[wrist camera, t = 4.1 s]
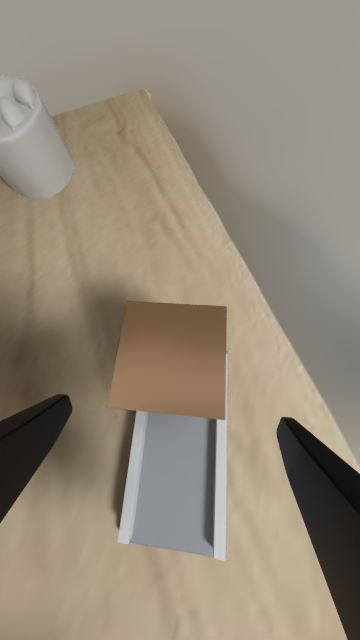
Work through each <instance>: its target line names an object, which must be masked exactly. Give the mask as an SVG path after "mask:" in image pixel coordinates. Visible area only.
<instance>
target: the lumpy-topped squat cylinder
mask: <svg viewBox="0 0 360 640" xmlns="http://www.w3.org/2000/svg"><path fill="white" fill-rule="evenodd" d="M74 166H75V164H74V161H73V158H72V156H71V154H70V152H69V150H68V148H67V146H66V144H65V142H64V141H63V139H62V137H61V135H60V133H59V131H58V129H57V127H56V125H55V123H54V122H53V120H52V118H51V116H50V114H49V112H48V110H47V109H46V107H45V105H44V103H43V101H42V99H41V97H40V95H39V94H38V92H37V91H36V89H35V88H34V87H33V85H32V84H31V83H30V82H28V81H27V80H23V79H12V78H10V77H8V76H6V75H0V176H1V177H2V178H3V179H4V180H5V181H6V183H7V184H8V185H9V186H10V187H11V188H12V189H13V190H14V191H15V192H17V193H18V194H20V195H22V196H25V197H27V198H33V199H44V198H49V197H51V196H54V195H56V194H57V193H59V192H60V191H61V190H62V189H63V188H64V187H65V186H66V185H67V184H68V182H69V181H70V179H71V176H72V174H73V171H74Z"/></svg>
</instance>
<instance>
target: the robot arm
mask: <svg viewBox="0 0 360 640" xmlns="http://www.w3.org/2000/svg"><path fill="white" fill-rule="evenodd" d="M71 413H72V405H71V402H70V399H69V396H68V395H65V394H57V395H55V396H53V397H51V398H49V399H47V400H44V401H42V402H40V403H38V404H36V405H34V406H32V407H30V408H28V409H25V410H23V411H21V412H19V413H17V414H15V415H13V416H11V417H9V418H6V419H4V420H2V421H0V523H1V521H2V520H3V518H4V517H5V516H6V514H7V513H8V511H9V510H10V508H11V507H12V505H13V504H14V502H15V501H16V499H17V498H18V497H19V495H20V494H21V492H22V491H23V489H24V488H25V486H26V485H27V483H28V482H29V480H30V479H31V478H32V476H33V475H34V473H35V472H36V470H37V469H38V467H39V466H40V464H41V463H42V461H43V460H44V459H45V457H46V456H47V454H48V453H49V451H50V450H51V448H52V447H53V445H54V443H55V442H56V440H57V438H58V436H59V435H60V433H61V431H62V429H63V427H64V426H65V424H66V422H67V420H68V419H69V417H70V415H71ZM277 439H278V443H279V446H280V450H281V454H282V458H283V462H284V466H285V469H286V473H287V476H288V479H289V482H290V485H291V488H292V490H293V493H294V496H295V499H296V501H297V504H298V507H299V509H300V512H301V515H302V517H303V520H304V523H305V526H306V528H307V531H308V534H309V536H310V539H311V542H312V544H313V547H314V550H315V553H316V555H317V558H318V561H319V563H320V566H321V569H322V571H323V574H324V577H325V580H326V582H327V585H328V588H329V590H330V593H331V596H332V598H333V601H334V604H335V607H336V609H337V612H338V615H339V617H340V620H341V623H342V625H343V628H344V631H345V634H346V636H347V639H348V640H360V474H359V473H358V472H357V471H356V470H354V469H353V468H352V467H351V466H350V465H348V464H347V463H346V462H345V461H344V460H343V459H341V458H340V457H339V456H338V455H337V454H335V453H334V452H333V451H332V450H331V449H329V448H328V447H327V446H326V445H325V444H323V443H322V442H321V441H320V440H319V439H317V438H316V437H315V436H314V435H313V434H311V433H310V432H309V431H308V430H307V429H306V428H304V427H303V426H302V425H301V424H300V423H298V422H297V421H296V420H295V419H293V418H290V417H282V418H281V420H280V422H279V425H278V428H277Z"/></svg>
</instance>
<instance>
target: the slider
mask: <svg viewBox="0 0 360 640" xmlns="http://www.w3.org/2000/svg"><path fill="white" fill-rule="evenodd" d="M227 429H228V351H226V401H225V420H220V419H210V418H201V417H191V416H182V415H172V414H163V413H153V412H144V411H136V418H135V425H134V432H133V439H132V446H131V453H130V460H129V467H128V474H127V481H126V487H125V494H124V501H123V508H122V515H121V522H120V529H119V536H118V543H124V544H129V543H135V544H140V545H146V546H152V547H158V548H164V549H170V550H176V551H182V552H187V553H193V554H199V555H205V556H211V557H214V559H217V560H223V561H226V553H227Z"/></svg>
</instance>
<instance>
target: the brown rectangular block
mask: <svg viewBox="0 0 360 640" xmlns="http://www.w3.org/2000/svg"><path fill="white" fill-rule="evenodd" d="M226 313H227V306H209V305H190V304H171V303H152V302H133V301H127V304H126V309H125V315H124V320H123V325H122V330H121V336H120V341H119V346H118V352H117V357H116V362H115V367H114V373H113V378H112V383H111V389H110V394H109V399H108V404H107V408H115V409H125V410H134V411H144V412H153V413H163V414H172V415H182V416H191V417H201V418H210V419H220V420H225V401H226Z"/></svg>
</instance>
